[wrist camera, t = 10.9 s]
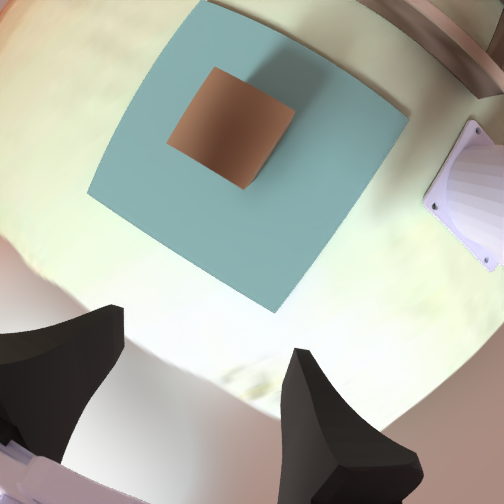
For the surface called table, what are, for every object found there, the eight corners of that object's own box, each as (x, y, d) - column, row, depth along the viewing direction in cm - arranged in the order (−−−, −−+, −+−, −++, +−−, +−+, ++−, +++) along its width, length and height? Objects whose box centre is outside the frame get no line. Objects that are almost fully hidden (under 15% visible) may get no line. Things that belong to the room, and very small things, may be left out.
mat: (406, 120, 17) (409, 119, 16) (274, 310, 21) (274, 313, 21) (203, 2, 15) (201, -1, 15) (90, 192, 20) (86, 193, 19)
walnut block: (289, 126, 17) (295, 111, 12) (254, 180, 18) (243, 190, 13) (233, 93, 17) (214, 66, 11) (199, 147, 18) (166, 143, 12)
